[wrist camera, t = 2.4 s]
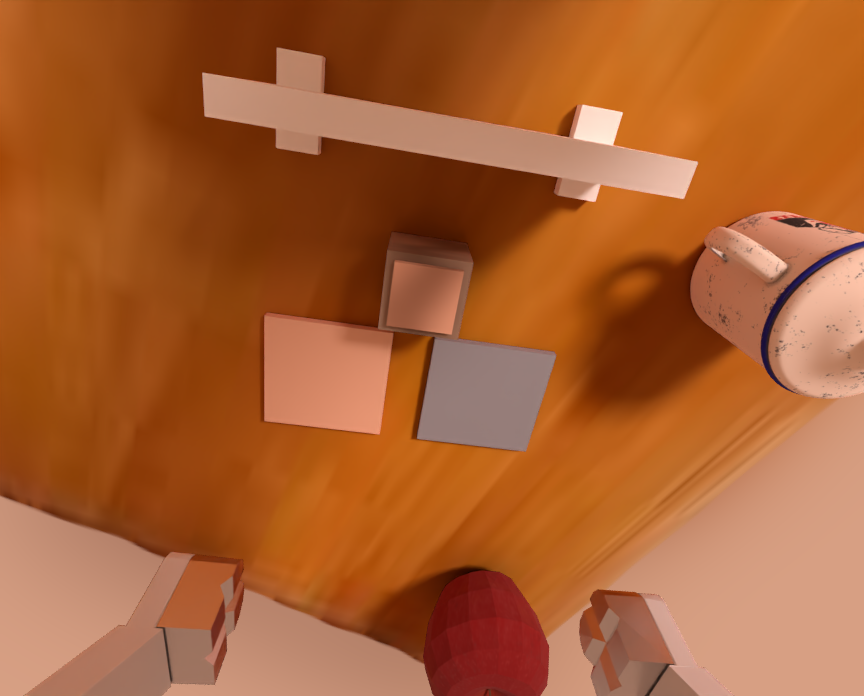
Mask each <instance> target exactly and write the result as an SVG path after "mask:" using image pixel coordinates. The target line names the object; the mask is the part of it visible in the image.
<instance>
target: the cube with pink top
mask: <svg viewBox="0 0 864 696" xmlns="http://www.w3.org/2000/svg"><path fill="white" fill-rule="evenodd" d="M473 264H474V263H473V260H472V257H471V254H470V251H469V248H468V245H467V243H463V242H457V241H451V240H444V239H438V238H431V237H425V236H418V235H412V234H406V233H399V232H393V231H392V233H391V237H390V241H389V245H388V249H387V256H386V265H385V273H384V282H383V290H382V299H381V307H380V315H379V324H378V329H380V330H388V331H395V332H402V333H410V334H417V335H424V336H432V337H439V338H446V339H453V340H458V336H459V331H460V327H461V322H462V317H463V312H464V307H465V302H466V298H467V293H468V288H469V283H470V278H471V273H472V268H473Z"/></svg>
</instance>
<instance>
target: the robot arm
mask: <svg viewBox="0 0 864 696" xmlns="http://www.w3.org/2000/svg"><path fill="white" fill-rule="evenodd" d="M243 570H244V567H243V559H234V558H225V557H216V556H207V555H198V554H189V553H178V552H170V553H169V554H168V555H167V557H166V558H165V559H164V560H163V562H162V564H161V565H160V567H159V569H158V571H157V573H156V574H155V576H154V578H153V579H152V581H151V583H150V585H149V586H148V588H147V590H146V592H145V593H144V595H143V597H142V599H141V600H140V602H139V604H138V606H137V607H136V609H135V611H134V613H133V614H132V616H131V618H130V620H129V621H128V623H127V625H126V626H124V625H118V626H117V627H116V628H114V629H113V630H111V631H110V632H109V633H107V634H106V635H105V636H103V637H102V638H101V639H99V640H98V641H97V642H95V643H94V644H93V645H91V646H90V647H89V648H87V649H86V650H84V651H83V652H82V653H80V654H79V655H78V656H76V657H75V658H74V659H72V660H71V661H70V662H68V663H67V664H66V665H65V666H63V667H62V668H60V669H59V670H58V671H56V672H55V673H54V674H52V675H51V676H49V677H48V678H47V679H46V680H44V681H43V682H42V683H40V684H39V685H37V686H36V687H35V688H33V689H32V690H31V691H29V692H28V693H27V694H25V695H24V696H162V695H163V694H164V693H165V692H166V691H167V690H168V689H169V688H170V687H171V683H175V684H176V683H177V684H208V685H210V684H211V685H215V683H216V680H217V677H218V674H219V672H220V669H221V666H222V663H223V660H224V658H225V655H226V652H227V639H226V637H227V636H228V635H229V634H230V633H231V632H232V631H233V630H235V626H236V624H237V620H238V618H239V614H240V610H241V606H242V602H243V595H244V583H243V582H242V581H241V580H240V578H241V575H242V573H243ZM590 601H591V604H592V607H590V608H588V609H587V610H585V611H584V612H583V615H582V617H581V619H580V629H579V634H580V641H581V646H582V649H583V653H584V655H585V656H586V658H587V659H588V660H589V661H590V662H591V663H592V664H593V665H594V667H593V670H592V673H591V679H592V682H593V685H594V688H595V691H596V694H597V696H734V695H733V694H732V693H731V692H730V691H728V689H726V688H725V687H724V686H723V685H722V684H721V683H720V682H719V681H718V680H717V679H716V678H715V677H714V676H713V675H712V674H711V673H710V672H708V671H707V670H706V669H705V668H704V667H698V666H697V664H696V662H695V660H694V658H693V656H692V654H691V652H690V650H689V648H688V646H687V644H686V642H685V640H684V638H683V637H682V635H681V632H680V631H679V629H678V627H677V625H676V623H675V621H674V619H673V617H672V615H671V613H670V611H669V609H668V607H667V606H666V603H665V601H664V600H663V599H662V598H661V597H660V596H659V595H655V594H643V593H636V592H625V591H611V590H596V591H594V592H593V594H592V596H591V598H590Z"/></svg>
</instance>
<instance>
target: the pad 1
mask: <svg viewBox="0 0 864 696" xmlns="http://www.w3.org/2000/svg"><path fill="white" fill-rule="evenodd" d="M393 334H394V331H388V330H380V329H378V328H376V327H369V326H362V325H355V324H347V323H340V322H333V321H326V320H318V319H311V318H304V317H296V316H289V315H282V314H275V313H266V314H265V315H264V421H269V422H277V423H286V424H295V425H303V426H312V427H320V428H329V429H337V430H346V431H354V432H363V433H372V434H380V428H381V421H382V414H383V407H384V399H385V392H386V385H387V377H388V370H389V363H390V355H391V348H392V341H393Z"/></svg>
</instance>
